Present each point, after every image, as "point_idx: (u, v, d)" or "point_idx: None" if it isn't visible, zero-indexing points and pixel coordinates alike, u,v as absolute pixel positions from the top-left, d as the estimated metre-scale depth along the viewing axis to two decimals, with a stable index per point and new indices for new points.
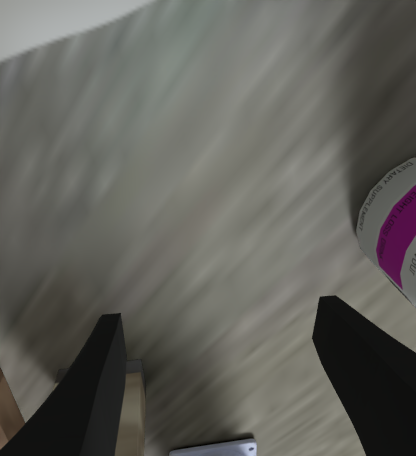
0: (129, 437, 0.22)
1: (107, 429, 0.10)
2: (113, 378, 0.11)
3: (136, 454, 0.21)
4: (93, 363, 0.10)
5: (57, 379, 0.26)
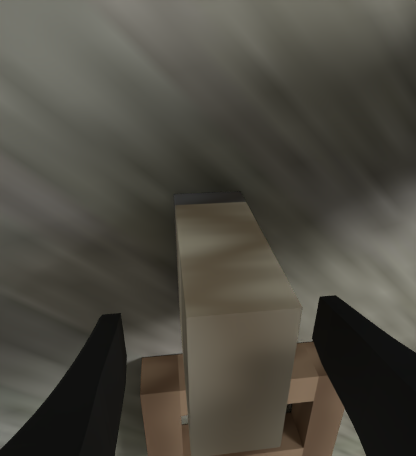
0: (182, 284, 0.11)
1: (107, 429, 0.10)
2: (113, 378, 0.11)
3: (186, 293, 0.10)
4: (93, 363, 0.10)
5: (179, 310, 0.18)
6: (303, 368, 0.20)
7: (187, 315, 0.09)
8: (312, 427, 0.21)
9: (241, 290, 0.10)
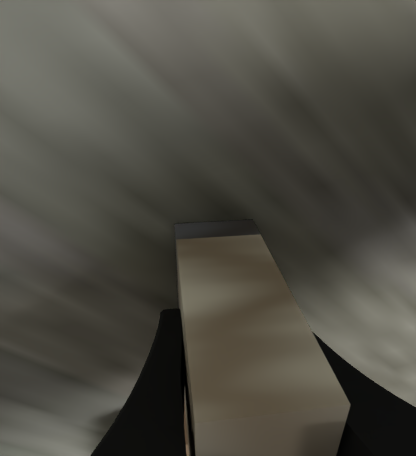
0: (186, 355, 0.09)
1: None
2: (182, 371, 0.11)
3: (194, 379, 0.07)
4: (169, 356, 0.10)
5: None
6: None
7: (196, 419, 0.07)
8: None
9: (266, 374, 0.08)
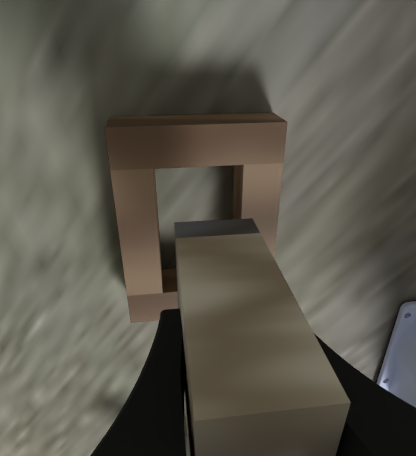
0: (186, 353, 0.09)
1: None
2: (182, 371, 0.11)
3: (193, 376, 0.07)
4: (169, 356, 0.10)
5: None
6: None
7: (195, 417, 0.07)
8: None
9: (266, 372, 0.08)
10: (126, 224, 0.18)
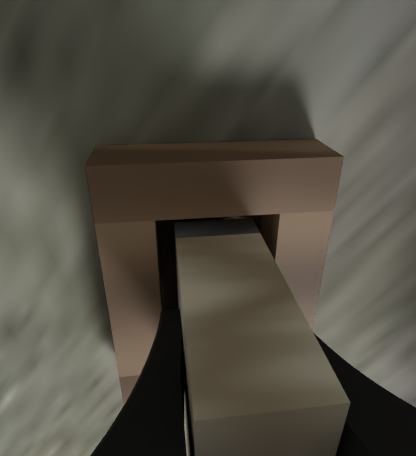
0: (186, 353, 0.09)
1: None
2: (182, 371, 0.11)
3: (193, 376, 0.07)
4: (169, 356, 0.10)
5: None
6: None
7: (195, 417, 0.07)
8: None
9: (266, 372, 0.08)
10: (117, 291, 0.13)
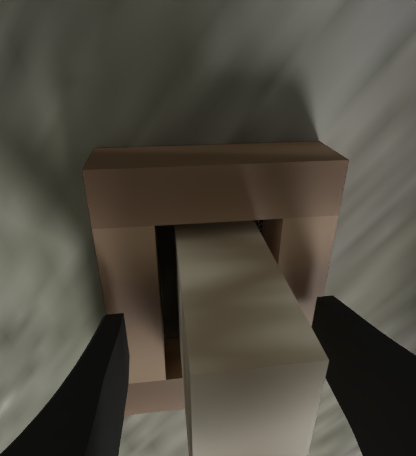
0: (184, 323, 0.09)
1: (111, 429, 0.10)
2: (117, 378, 0.11)
3: (190, 340, 0.08)
4: (97, 363, 0.10)
5: (179, 336, 0.16)
6: None
7: (191, 371, 0.08)
8: None
9: (255, 336, 0.08)
10: (115, 298, 0.13)
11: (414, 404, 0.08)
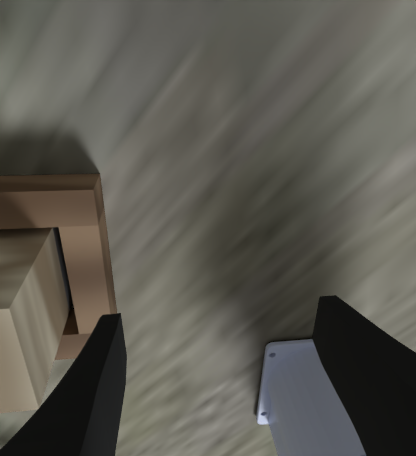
0: None
1: (107, 429, 0.10)
2: (113, 378, 0.11)
3: None
4: (93, 363, 0.10)
5: None
6: None
7: None
8: None
9: None
10: None
11: None
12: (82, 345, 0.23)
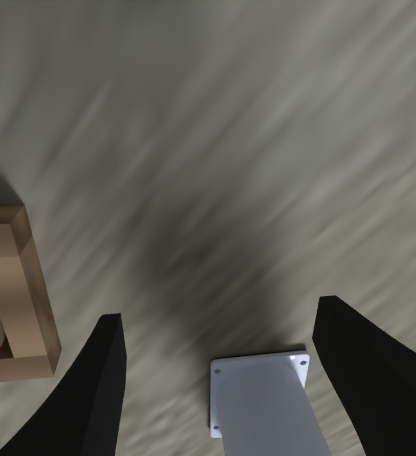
0: None
1: (107, 429, 0.10)
2: (113, 378, 0.11)
3: None
4: (93, 363, 0.10)
5: None
6: (47, 340, 0.23)
7: None
8: None
9: None
10: None
11: None
12: (18, 368, 0.23)
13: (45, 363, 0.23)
